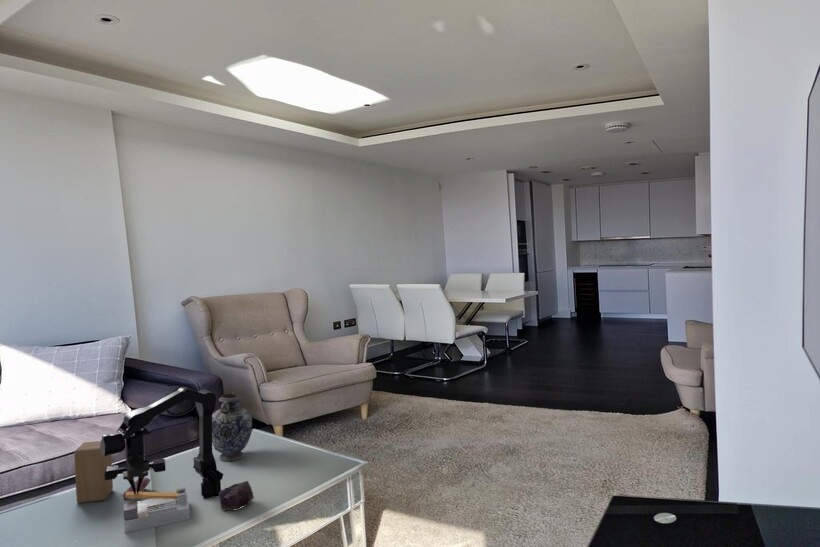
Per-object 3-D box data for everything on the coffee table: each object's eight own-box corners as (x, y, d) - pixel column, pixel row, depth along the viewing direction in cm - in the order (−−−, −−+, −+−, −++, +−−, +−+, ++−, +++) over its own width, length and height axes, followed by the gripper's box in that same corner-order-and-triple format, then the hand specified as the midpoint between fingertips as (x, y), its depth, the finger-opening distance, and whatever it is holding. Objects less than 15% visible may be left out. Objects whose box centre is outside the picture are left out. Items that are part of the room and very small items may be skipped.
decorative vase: (215, 449, 258) (214, 389, 257) (256, 447, 260) (255, 388, 259) (203, 467, 237) (202, 402, 236) (248, 465, 239) (247, 401, 238)
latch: (137, 509, 191) (137, 501, 190) (137, 517, 185) (137, 508, 185) (124, 512, 189) (124, 503, 189) (124, 520, 183) (123, 510, 183)
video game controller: (130, 503, 208) (137, 487, 207) (120, 497, 209) (127, 481, 208) (147, 492, 218) (154, 477, 217) (138, 486, 218) (144, 471, 217)
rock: (220, 508, 202) (225, 519, 193) (215, 486, 201) (220, 496, 192) (252, 496, 207) (258, 506, 198) (248, 474, 206) (253, 484, 197)
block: (85, 492, 215) (83, 441, 214) (113, 489, 217) (111, 439, 216) (75, 504, 205) (73, 450, 204) (105, 501, 207) (102, 448, 206)
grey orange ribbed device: (187, 502, 204) (186, 485, 204) (189, 519, 192) (189, 500, 191) (125, 514, 196) (125, 496, 196) (124, 532, 183) (123, 513, 183)
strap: (182, 496, 200) (183, 492, 200) (183, 499, 198) (184, 495, 198) (125, 495, 192) (126, 491, 192) (125, 498, 190) (126, 494, 190)
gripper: (102, 461, 181) (104, 508, 181) (165, 452, 189) (166, 497, 189) (105, 450, 191) (106, 495, 191) (164, 442, 199) (165, 485, 199)
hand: (136, 493), depth 192 cm, fingers closed
